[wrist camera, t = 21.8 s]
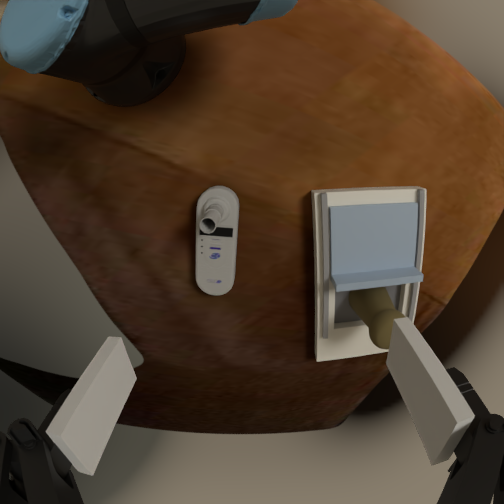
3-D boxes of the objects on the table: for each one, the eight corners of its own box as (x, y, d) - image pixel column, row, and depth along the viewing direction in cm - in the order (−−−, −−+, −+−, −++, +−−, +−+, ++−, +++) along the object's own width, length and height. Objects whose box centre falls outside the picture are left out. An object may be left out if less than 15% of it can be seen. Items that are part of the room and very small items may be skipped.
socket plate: (311, 190, 39) (315, 194, 36) (418, 186, 38) (429, 189, 35) (314, 352, 48) (317, 364, 45) (403, 339, 47) (410, 350, 44)
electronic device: (184, 322, 36) (182, 198, 30) (198, 285, 45) (200, 183, 40) (228, 327, 36) (235, 201, 30) (234, 288, 45) (240, 186, 40)
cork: (340, 296, 43) (360, 340, 33) (371, 269, 42) (400, 306, 31) (363, 320, 44) (386, 364, 34) (392, 294, 43) (423, 333, 32)
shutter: (329, 206, 37) (336, 212, 34) (415, 202, 36) (428, 207, 33) (330, 279, 41) (336, 291, 37) (411, 270, 40) (422, 281, 36)
